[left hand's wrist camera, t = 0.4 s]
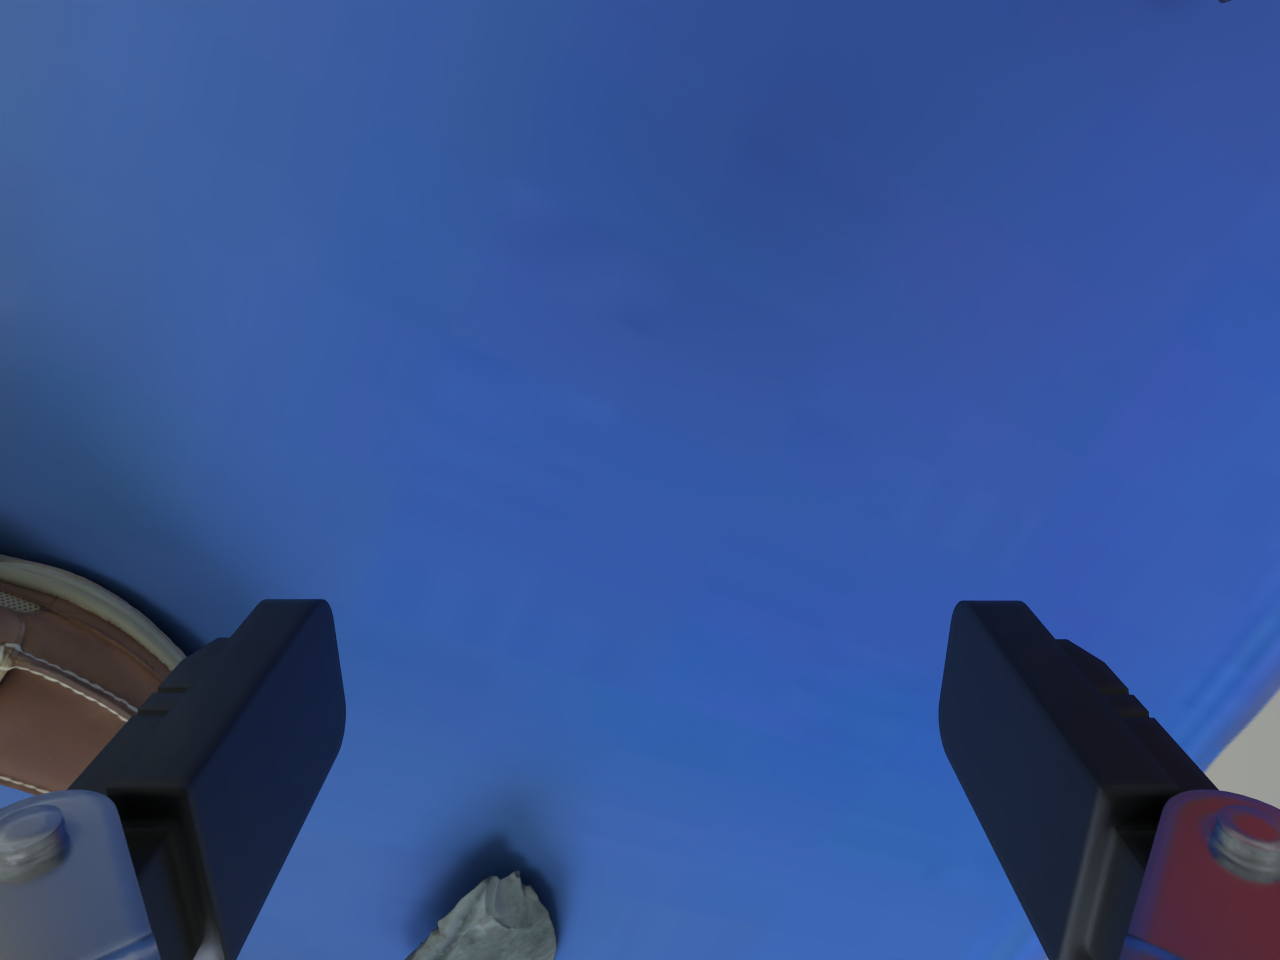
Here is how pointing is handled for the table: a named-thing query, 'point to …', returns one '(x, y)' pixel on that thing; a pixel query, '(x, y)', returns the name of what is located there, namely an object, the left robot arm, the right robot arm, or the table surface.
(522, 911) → the stone
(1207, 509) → the table surface
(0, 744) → the boat shoe
